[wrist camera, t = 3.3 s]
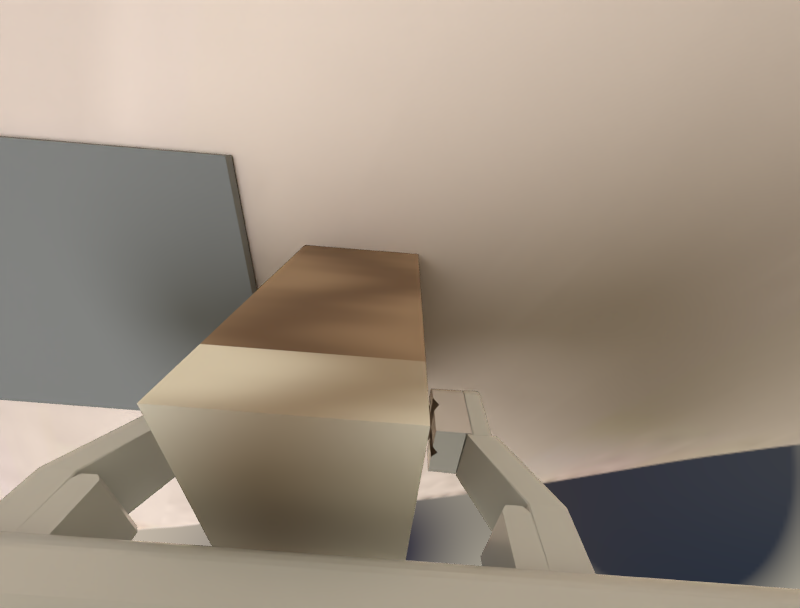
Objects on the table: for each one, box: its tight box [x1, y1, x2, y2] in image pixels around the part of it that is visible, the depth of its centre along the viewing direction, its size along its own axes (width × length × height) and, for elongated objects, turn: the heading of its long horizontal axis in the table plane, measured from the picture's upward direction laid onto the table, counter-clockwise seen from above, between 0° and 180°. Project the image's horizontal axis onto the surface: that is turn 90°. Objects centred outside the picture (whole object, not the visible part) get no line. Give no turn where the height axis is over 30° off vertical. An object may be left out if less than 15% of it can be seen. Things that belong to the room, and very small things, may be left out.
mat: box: [0, 136, 257, 410], centre depth 13 cm, size 21×13×1 cm, turn 86°
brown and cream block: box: [137, 245, 430, 560], centre depth 10 cm, size 4×7×8 cm, turn 176°
